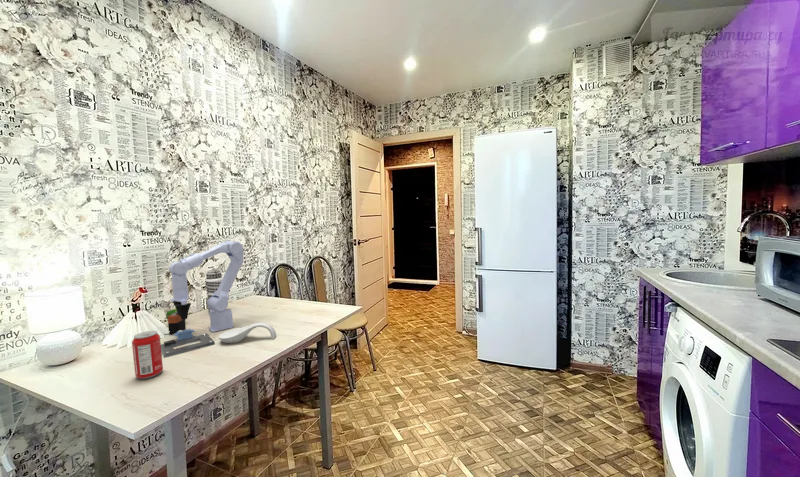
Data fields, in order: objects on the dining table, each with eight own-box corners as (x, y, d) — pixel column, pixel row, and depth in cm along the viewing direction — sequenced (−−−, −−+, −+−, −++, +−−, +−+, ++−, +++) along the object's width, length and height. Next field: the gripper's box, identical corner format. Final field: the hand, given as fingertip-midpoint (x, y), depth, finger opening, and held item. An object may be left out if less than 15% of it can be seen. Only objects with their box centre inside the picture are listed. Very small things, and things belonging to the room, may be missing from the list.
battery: (186, 329, 165) (184, 309, 164) (178, 334, 158) (176, 314, 157) (177, 330, 164) (175, 310, 164) (168, 335, 158) (166, 314, 157)
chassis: (206, 335, 155) (206, 331, 155) (214, 344, 144) (214, 339, 144) (159, 347, 143) (159, 342, 143) (164, 357, 132) (163, 352, 132)
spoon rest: (214, 347, 142) (213, 331, 141) (225, 337, 153) (224, 322, 153) (272, 342, 145) (271, 326, 144) (278, 333, 156) (277, 318, 156)
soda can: (141, 382, 113) (137, 339, 111) (131, 377, 117) (127, 335, 115) (167, 372, 119) (163, 332, 118) (157, 367, 123) (153, 328, 122)
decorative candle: (205, 313, 190) (201, 270, 188) (222, 309, 197) (218, 268, 195) (211, 316, 184) (207, 272, 182) (228, 312, 191) (225, 269, 189)
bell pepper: (180, 327, 168) (178, 308, 167) (164, 328, 168) (162, 308, 167) (190, 322, 176) (189, 303, 176) (175, 322, 176) (173, 304, 176)
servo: (193, 335, 157) (192, 326, 157) (195, 336, 154) (194, 328, 154) (174, 339, 152) (173, 331, 151) (175, 341, 149) (174, 332, 149)
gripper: (167, 287, 154) (169, 315, 155) (172, 292, 143) (175, 322, 144) (185, 284, 158) (187, 312, 160) (191, 289, 148) (193, 319, 149)
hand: (182, 317), depth 152 cm, fingers open, 7 cm apart
